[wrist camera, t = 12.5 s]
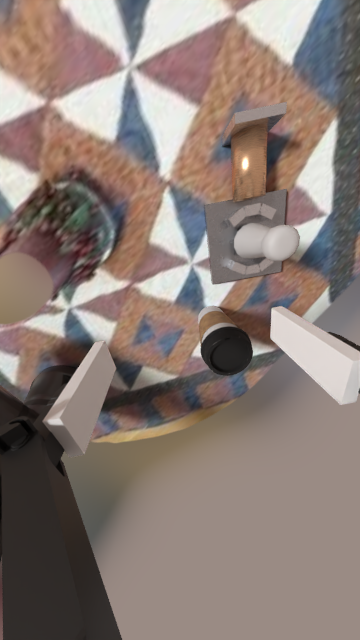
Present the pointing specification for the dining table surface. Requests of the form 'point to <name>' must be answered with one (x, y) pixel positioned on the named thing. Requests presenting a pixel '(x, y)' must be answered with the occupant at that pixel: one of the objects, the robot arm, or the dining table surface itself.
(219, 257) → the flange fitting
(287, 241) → the salt shaker
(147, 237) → the dining table surface
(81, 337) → the dining table surface
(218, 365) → the coffee cup
